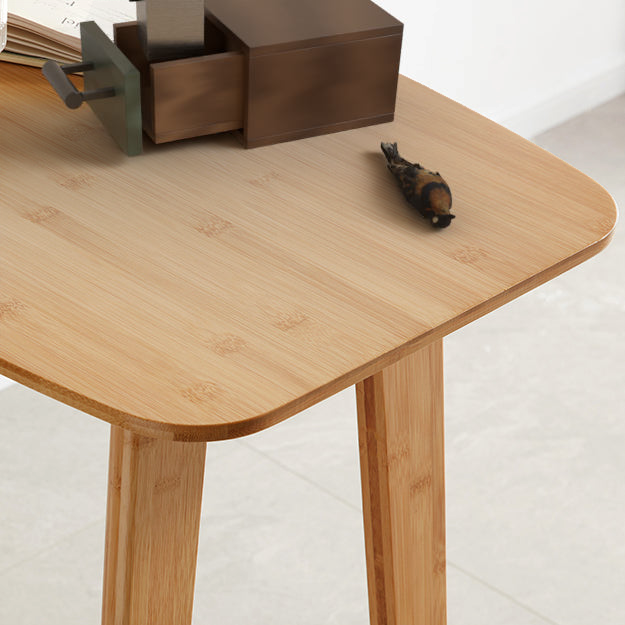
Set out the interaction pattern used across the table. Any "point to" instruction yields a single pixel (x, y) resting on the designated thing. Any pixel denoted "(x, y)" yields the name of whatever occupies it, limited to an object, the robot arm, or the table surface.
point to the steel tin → (170, 28)
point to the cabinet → (311, 65)
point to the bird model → (420, 187)
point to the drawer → (154, 86)
